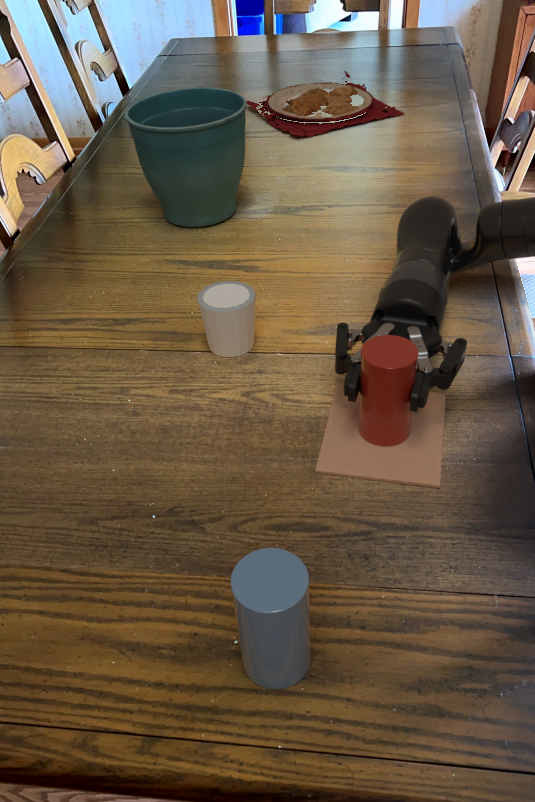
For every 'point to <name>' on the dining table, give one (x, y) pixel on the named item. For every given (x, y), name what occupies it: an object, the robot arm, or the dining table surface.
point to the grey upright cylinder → (273, 616)
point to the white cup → (228, 317)
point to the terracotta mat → (393, 464)
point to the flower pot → (191, 151)
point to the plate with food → (313, 100)
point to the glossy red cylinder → (386, 389)
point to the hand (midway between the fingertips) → (382, 399)
